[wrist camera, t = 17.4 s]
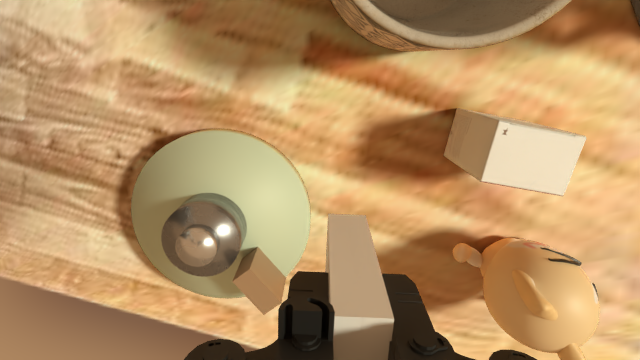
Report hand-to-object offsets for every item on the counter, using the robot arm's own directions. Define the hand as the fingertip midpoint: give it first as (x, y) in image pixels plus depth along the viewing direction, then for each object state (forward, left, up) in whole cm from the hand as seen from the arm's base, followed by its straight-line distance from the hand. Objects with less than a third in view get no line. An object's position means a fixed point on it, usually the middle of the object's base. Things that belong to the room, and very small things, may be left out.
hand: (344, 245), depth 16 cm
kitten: (+22, -15, -29) cm, 39 cm away
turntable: (-12, -10, -28) cm, 32 cm away
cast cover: (-13, -11, -25) cm, 31 cm away
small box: (+17, 0, -29) cm, 33 cm away
